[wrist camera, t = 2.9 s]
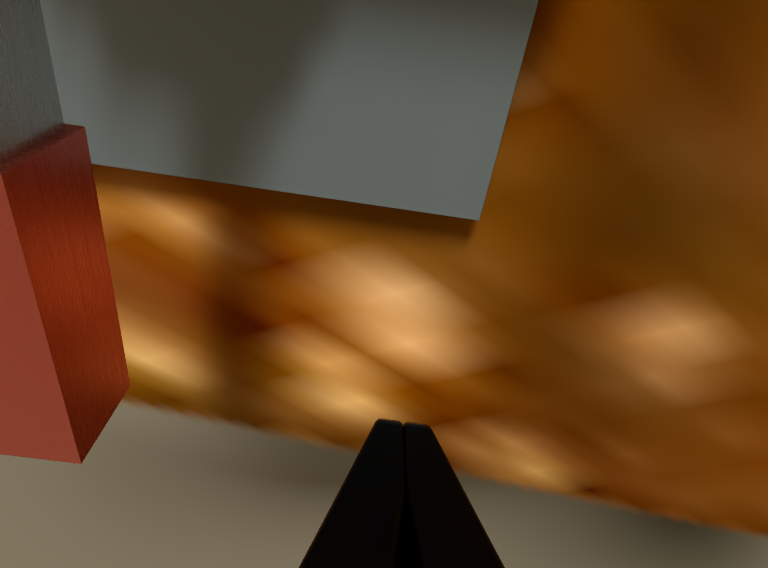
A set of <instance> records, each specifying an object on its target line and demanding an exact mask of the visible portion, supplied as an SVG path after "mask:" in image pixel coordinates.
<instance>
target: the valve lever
mask: <svg viewBox="0 0 768 568" xmlns="http://www.w3.org/2000/svg"><path fill="white" fill-rule="evenodd" d="M129 387H130V382H129V376H128V371H127V365H126V359H125V353H124V348H123V342H122V336H121V330H120V325H119V319H118V313H117V307H116V302H115V296H114V290H113V284H112V279H111V273H110V267H109V261H108V256H107V250H106V244H105V238H104V233H103V227H102V221H101V215H100V210H99V204H98V198H97V192H96V187H95V181H94V175H93V169H92V164H91V158H90V152H89V146H88V141H87V135H86V129H85V126H78V125H71V124H65V123H64V121H63V116H62V111H61V106H60V101H59V96H58V91H57V85H56V80H55V75H54V70H53V65H52V60H51V55H50V50H49V45H48V39H47V34H46V29H45V24H44V19H43V14H42V9H41V4H40V0H0V454H3V455H12V456H20V457H29V458H37V459H45V460H53V461H62V462H70V463H78V464H81V463H82V462H83V460H84V459H85V457H86V455H87V453H88V452H89V451H90V449H91V447H92V446H93V444H94V443H95V441H96V440H97V438H98V436H99V435H100V433H101V432H102V430H103V428H104V427H105V425H106V424H107V422H108V420H109V419H110V417H111V416H112V414H113V412H114V411H115V409H116V408H117V406H118V404H119V403H120V401H121V400H122V398H123V396H124V395H125V393H126V392H127V390H128V388H129Z"/></svg>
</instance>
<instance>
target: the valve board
mask: <svg viewBox="0 0 768 568" xmlns="http://www.w3.org/2000/svg"><path fill="white" fill-rule="evenodd" d="M538 1H539V0H40V4H41V9H42V14H43V19H44V24H45V29H46V34H47V39H48V45H49V50H50V55H51V60H52V65H53V70H54V75H55V80H56V85H57V91H58V96H59V101H60V106H61V111H62V116H63V121H64V123H65V124H71V125H78V126H85V129H86V135H87V141H88V146H89V152H90V158H91V164H97V165H104V166H111V167H118V168H124V169H131V170H138V171H145V172H152V173H159V174H165V175H172V176H179V177H186V178H193V179H199V180H206V181H213V182H220V183H227V184H234V185H240V186H247V187H254V188H261V189H268V190H274V191H281V192H288V193H295V194H302V195H309V196H315V197H322V198H329V199H336V200H343V201H350V202H356V203H363V204H370V205H377V206H384V207H390V208H397V209H404V210H411V211H418V212H425V213H431V214H438V215H445V216H452V217H459V218H465V219H472V220H479V219H480V216H481V212H482V208H483V204H484V201H485V197H486V193H487V190H488V186H489V182H490V178H491V175H492V171H493V167H494V164H495V160H496V156H497V153H498V149H499V145H500V141H501V138H502V134H503V130H504V127H505V123H506V119H507V116H508V112H509V108H510V104H511V101H512V97H513V93H514V90H515V86H516V82H517V78H518V75H519V71H520V67H521V64H522V60H523V56H524V53H525V49H526V45H527V41H528V38H529V34H530V30H531V27H532V23H533V19H534V16H535V12H536V8H537V4H538Z"/></svg>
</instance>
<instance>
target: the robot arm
mask: <svg viewBox="0 0 768 568" xmlns="http://www.w3.org/2000/svg"><path fill="white" fill-rule="evenodd" d="M299 568H505V567H504V566H503V564H502V562H501V560H500V558H499V556H498V554H497V552H496V551H495V548H494V547H493V545H492V543H491V541H490V539H489V537H488V535H487V533H486V531H485V529H484V528H483V526H482V524H481V522H480V520H479V518H478V516H477V514H476V512H475V510H474V509H473V507H472V505H471V503H470V501H469V499H468V497H467V495H466V493H465V492H464V490H463V488H462V486H461V484H460V482H459V480H458V478H457V476H456V474H455V472H454V471H453V469H452V467H451V465H450V463H449V461H448V459H447V457H446V455H445V453H444V452H443V450H442V448H441V446H440V444H439V442H438V440H437V438H436V436H435V434H434V433H433V431H432V429H431V428H430V426H428V425H426V424H419V423H412V422H406V423H404V424H402V423H401V422H400V421H396V420H388V419H378V420H377V421H376V422H375V424H374V426H373V428H372V430H371V431H370V433H369V435H368V437H367V439H366V441H365V443H364V445H363V447H362V449H361V450H360V452H359V454H358V456H357V458H356V460H355V462H354V464H353V466H352V468H351V469H350V471H349V474H348V475H347V477H346V479H345V481H344V483H343V485H342V487H341V489H340V491H339V492H338V494H337V496H336V498H335V500H334V502H333V504H332V506H331V508H330V509H329V511H328V513H327V515H326V517H325V519H324V521H323V523H322V525H321V527H320V528H319V530H318V532H317V535H316V536H315V538H314V540H313V542H312V544H311V546H310V547H309V549H308V551H307V553H306V555H305V557H304V559H303V561H302V563H301V565H300V566H299Z"/></svg>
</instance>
